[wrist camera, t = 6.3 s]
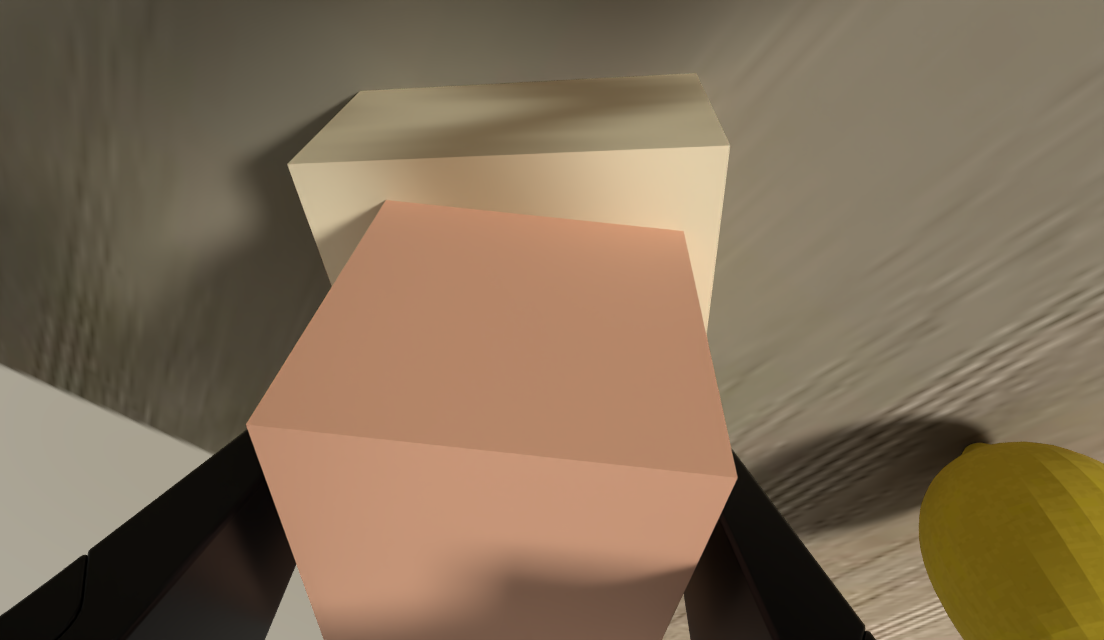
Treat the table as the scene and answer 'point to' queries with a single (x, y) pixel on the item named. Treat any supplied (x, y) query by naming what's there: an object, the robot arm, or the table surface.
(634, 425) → the terracotta cube
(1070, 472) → the lemon
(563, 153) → the maple base
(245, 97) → the table surface
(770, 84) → the table surface
